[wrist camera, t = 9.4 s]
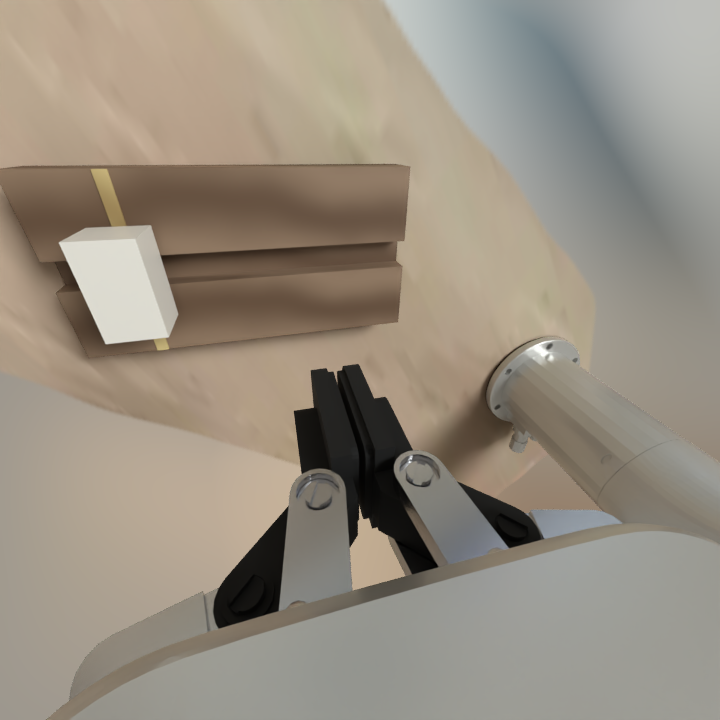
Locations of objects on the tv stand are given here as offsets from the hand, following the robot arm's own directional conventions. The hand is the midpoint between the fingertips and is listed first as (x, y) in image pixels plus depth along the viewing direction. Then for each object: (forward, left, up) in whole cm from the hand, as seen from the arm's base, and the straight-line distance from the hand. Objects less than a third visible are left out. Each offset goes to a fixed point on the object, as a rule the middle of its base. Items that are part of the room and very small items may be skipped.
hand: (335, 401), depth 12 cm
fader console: (0, +3, -19) cm, 19 cm away
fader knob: (0, +10, -17) cm, 20 cm away
